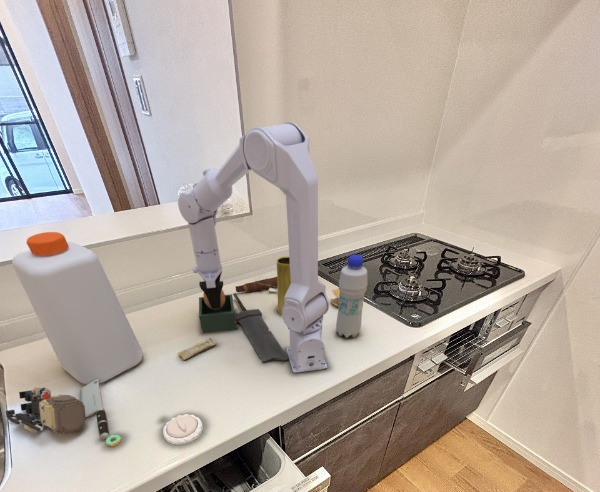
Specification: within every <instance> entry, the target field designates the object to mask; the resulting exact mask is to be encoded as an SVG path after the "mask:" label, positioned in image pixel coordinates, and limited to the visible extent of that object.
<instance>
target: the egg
mask: <svg viewBox="0 0 600 492" xmlns="http://www.w3.org/2000/svg"><path fill="white" fill-rule="evenodd" d="M225 295H226V294H225V292H224V290H223V289H222V290H221V305H220V308H222V307H223V305H224V303H225ZM202 296H203V297H204V301H205V303H206V305H207V306H208V307H209V308H211V309H212V307H211V306H210V303H209V301H208V298H207V296H206V295H205V293H204V292H203V295H202ZM220 308H215V309H213V310H218V309H220Z"/></svg>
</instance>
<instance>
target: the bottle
mask: <svg viewBox="0 0 600 492" xmlns="http://www.w3.org/2000/svg"><path fill="white" fill-rule="evenodd" d="M363 264H364V258H363V257H362V256H361V255H360V254H351V255H350V256H348V258H347V265H345V266H343V267H342V268H341V270H340V275H339V279H338V290H339V291H340V294H339V306H337V307H338V308H337V315H336V316H337V317H336V323H335V329H336V332H337V334H338V336H339V337H343V336H344V337H345V338H346V339H349V338H350V336H351V337H352V338H355V337H356V336H357V335H358V334H359V333H360V332H361V328H362V321H363V319H362V317H363V307H364V302H365V301H364V300H365V293H366V292H367V290H368V289H367V287H368V283H369V282H368V269H367V268H366V267H364V265H363Z"/></svg>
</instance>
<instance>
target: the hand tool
mask: <svg viewBox="0 0 600 492" xmlns="http://www.w3.org/2000/svg"><path fill="white" fill-rule="evenodd" d="M259 283H260V284H259ZM264 284H265V285H264ZM269 285H270V286H269ZM269 288H272V289H274V288H277V276H274V277H269V278H263V279H259V280H254V281H252V282H246V283H244V284H242V285H236V286H235V293H243V292H245V293H250V292H257V291H264V290H269Z"/></svg>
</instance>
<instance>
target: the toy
mask: <svg viewBox="0 0 600 492" xmlns="http://www.w3.org/2000/svg"><path fill="white" fill-rule="evenodd" d="M18 394H19V399H24V401H25V403H21V404H20V409H21V410H20V411H22V412H23V411H26V412H25V413H22V412H18V413H16V412H15V409H9V410H5V416H6V417H5V418H7V420H8V421H9V422H12V423H13V424H15V425H20V424H23V425H24V427H23V428H24V429H25V430H27V431H29V432H31V433H32V432H36V431H37V432H40V431H44V427H48V428H49V429H50V430H51V431H52V432H54V433H55V434H62V435H63V434H68V433H73V432H77V431H78V430H80V429H81V428H82V427H83V426H84V424H85V421H86V419H87V418H85V405H83V403H82V401H80V399H78V398H76V397H75V396H73V395H70V394H57V395H52V392H51V390H50V389H48V388H47V387H41V386H34V387H33V389H30V390H25V391H18Z"/></svg>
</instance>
